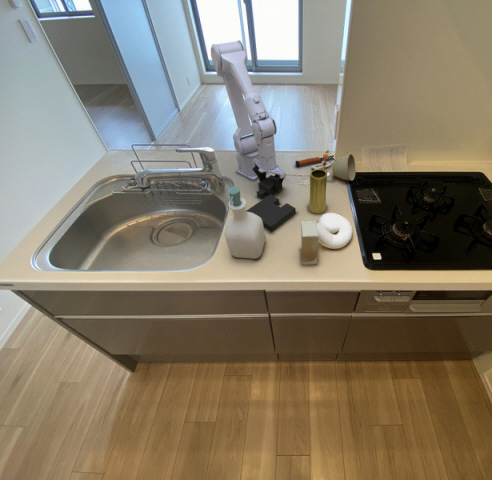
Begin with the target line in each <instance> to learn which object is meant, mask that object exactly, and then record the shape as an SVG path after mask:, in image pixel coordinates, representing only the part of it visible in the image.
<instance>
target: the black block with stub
mask: <svg viewBox="0 0 492 480" xmlns="http://www.w3.org/2000/svg"><path fill="white" fill-rule="evenodd" d="M273 176H274V174H270V175H269V176H266V179H264V180H262V181H261V182H260V181H259V182H257V185H258V190H256V196H257V198H259V199H261V200H263V199H264V198H266V197H267V196H269V195H270V194H271V195H273V196H274V195H276V194H277V193H278V192H275V188H274V184H273V181H272V180H271V177H273ZM282 190H283V184H282V185H281V190H280V191H282Z"/></svg>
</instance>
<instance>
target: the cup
mask: <svg viewBox="0 0 492 480" xmlns="http://www.w3.org/2000/svg"><path fill="white" fill-rule="evenodd" d="M331 171H332V174H333V175H334V176H335V177H336V178H339V179H340V180H344V181H351V182H352V181H354V179H355V178H356V160H355V157H354V155H353V154H352V153H347V154H344V155H342V156H341V157H339V158H338V159H336V160H335V161H333V163H332V164H331Z"/></svg>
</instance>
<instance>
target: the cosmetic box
mask: <svg viewBox="0 0 492 480" xmlns="http://www.w3.org/2000/svg"><path fill="white" fill-rule="evenodd" d="M317 223H318V222H317V220H315V219H314V220H313V219H312V220H301V221H300V234H301V235H300V239H301V240H300V241H301V261H302V265H317V264H318V252H319V251H318V250H319V241H318V229H317Z"/></svg>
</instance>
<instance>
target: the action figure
mask: <svg viewBox="0 0 492 480" xmlns="http://www.w3.org/2000/svg"><path fill="white" fill-rule="evenodd" d="M329 152H330V150H329V149H327V150H326V151H325V152H324V153H322V155H321V158H322V161H321V163H322V170H324V171H326V168H327V167H326V168H325V166H326V165H325V164H326V162H327V159H329V158H328V156H329ZM326 173H327V178H328V177H329V176H330V175H331V174H330V173H331V172H329V171H326Z"/></svg>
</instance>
